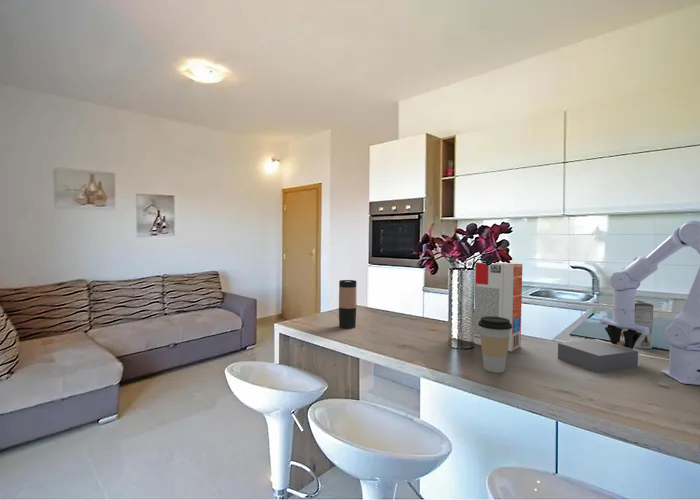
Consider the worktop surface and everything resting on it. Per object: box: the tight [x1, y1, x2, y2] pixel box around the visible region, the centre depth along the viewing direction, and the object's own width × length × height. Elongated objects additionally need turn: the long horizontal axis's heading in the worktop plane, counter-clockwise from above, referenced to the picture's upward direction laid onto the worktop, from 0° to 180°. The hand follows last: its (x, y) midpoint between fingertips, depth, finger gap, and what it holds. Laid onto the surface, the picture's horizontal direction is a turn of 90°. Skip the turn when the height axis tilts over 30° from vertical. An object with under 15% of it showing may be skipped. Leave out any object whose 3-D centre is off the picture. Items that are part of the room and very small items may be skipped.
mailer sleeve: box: [557, 338, 639, 374], centre depth 117 cm, size 16×14×5 cm
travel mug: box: [338, 279, 358, 330], centre depth 161 cm, size 8×8×20 cm
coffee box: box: [620, 300, 654, 350], centre depth 137 cm, size 9×6×16 cm
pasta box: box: [468, 260, 523, 352], centre depth 138 cm, size 23×8×30 cm, turn 46°
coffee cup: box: [478, 316, 512, 374], centre depth 109 cm, size 9×9×15 cm
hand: (622, 350), depth 120 cm, fingers open, 3 cm apart
